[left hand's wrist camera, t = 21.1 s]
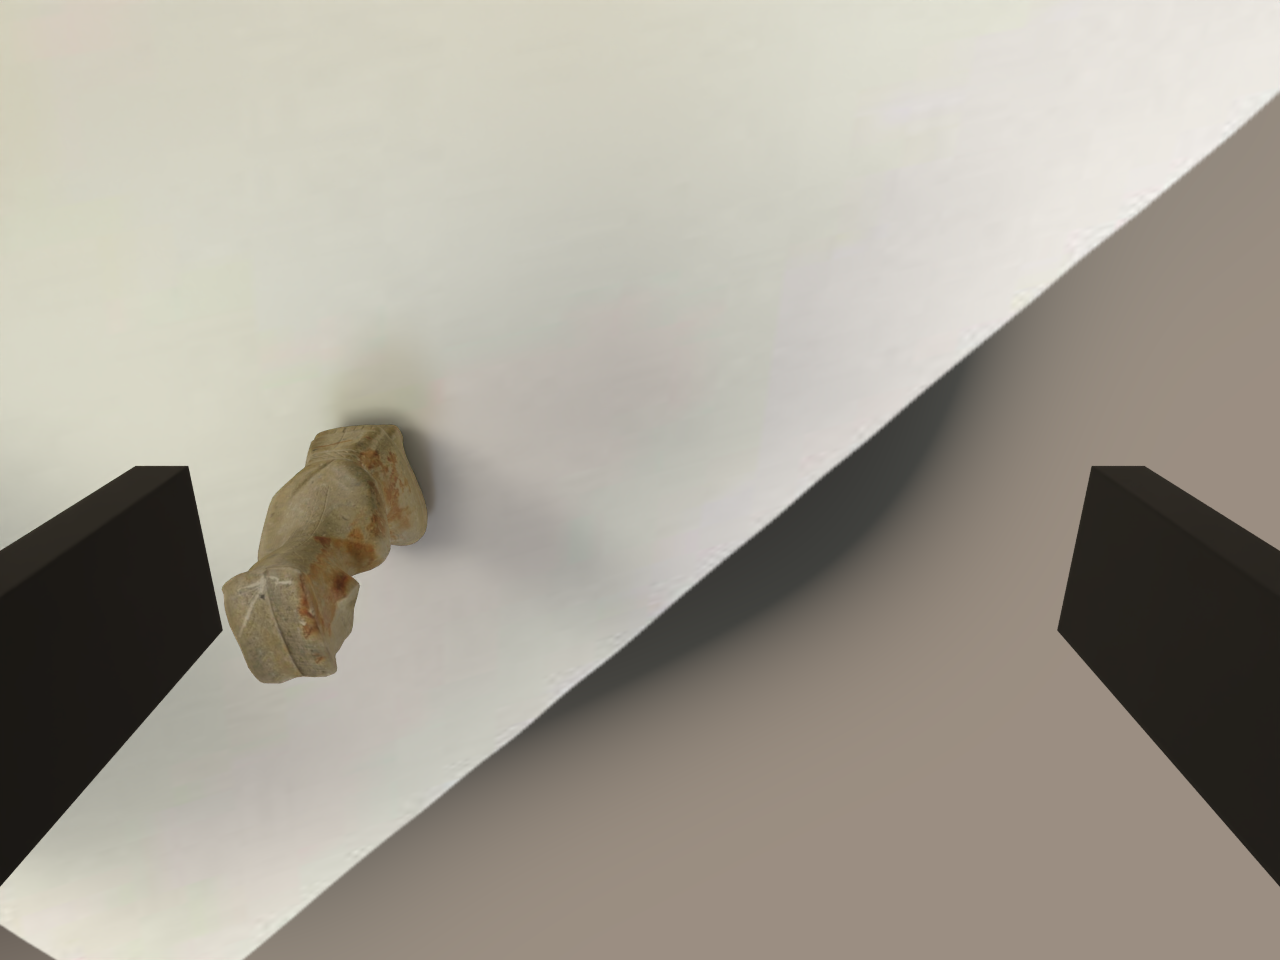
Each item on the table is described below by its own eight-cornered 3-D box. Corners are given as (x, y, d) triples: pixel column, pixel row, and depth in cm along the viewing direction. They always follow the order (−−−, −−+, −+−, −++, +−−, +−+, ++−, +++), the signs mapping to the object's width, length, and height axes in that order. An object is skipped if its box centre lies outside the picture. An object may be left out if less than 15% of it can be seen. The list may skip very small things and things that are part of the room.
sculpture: (342, 538, 47) (216, 703, 33) (313, 414, 44) (163, 536, 30) (446, 530, 47) (363, 693, 33) (423, 405, 44) (322, 524, 30)
